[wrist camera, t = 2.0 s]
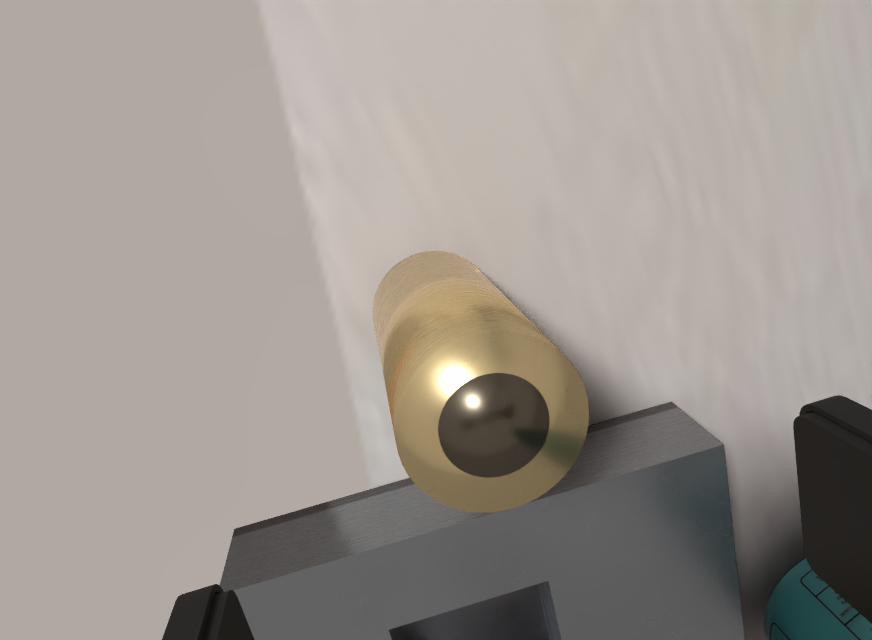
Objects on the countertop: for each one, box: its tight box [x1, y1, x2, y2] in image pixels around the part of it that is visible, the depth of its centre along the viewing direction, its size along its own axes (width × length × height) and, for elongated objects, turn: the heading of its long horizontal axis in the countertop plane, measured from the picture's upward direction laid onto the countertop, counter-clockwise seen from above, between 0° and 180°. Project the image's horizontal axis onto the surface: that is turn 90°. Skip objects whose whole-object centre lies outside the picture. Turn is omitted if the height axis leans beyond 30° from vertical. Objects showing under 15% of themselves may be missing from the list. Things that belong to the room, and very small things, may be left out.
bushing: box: [373, 251, 589, 513], centre depth 18 cm, size 4×4×9 cm
